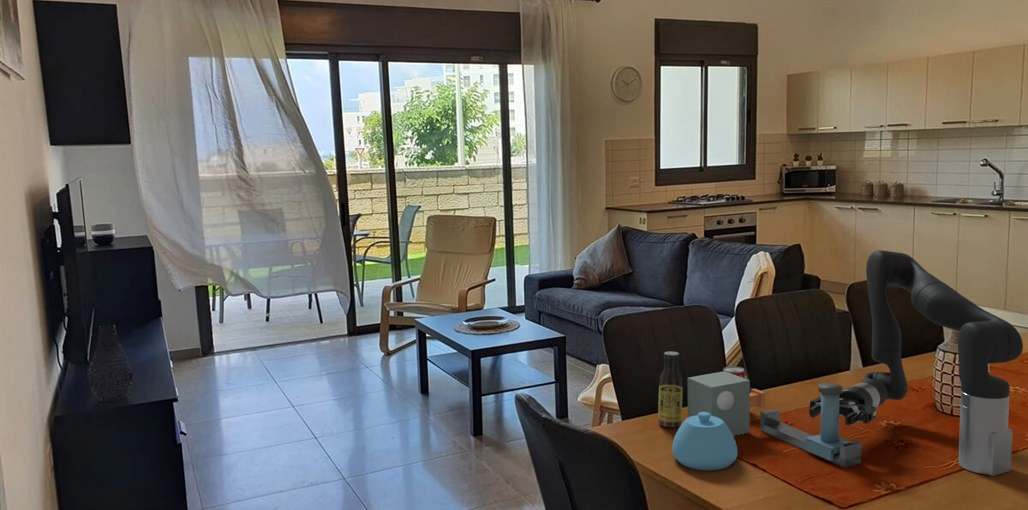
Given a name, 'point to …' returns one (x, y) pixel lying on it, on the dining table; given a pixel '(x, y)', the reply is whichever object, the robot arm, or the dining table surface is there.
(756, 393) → the plunger
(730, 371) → the soda can
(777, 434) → the rail
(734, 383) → the cabinet
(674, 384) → the sauce bottle
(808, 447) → the carriage
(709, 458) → the sugar bowl
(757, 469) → the dining table surface
